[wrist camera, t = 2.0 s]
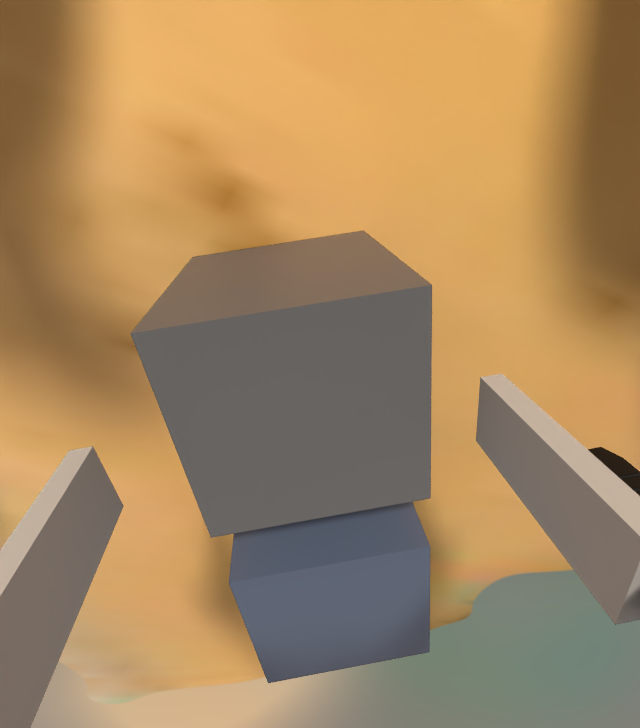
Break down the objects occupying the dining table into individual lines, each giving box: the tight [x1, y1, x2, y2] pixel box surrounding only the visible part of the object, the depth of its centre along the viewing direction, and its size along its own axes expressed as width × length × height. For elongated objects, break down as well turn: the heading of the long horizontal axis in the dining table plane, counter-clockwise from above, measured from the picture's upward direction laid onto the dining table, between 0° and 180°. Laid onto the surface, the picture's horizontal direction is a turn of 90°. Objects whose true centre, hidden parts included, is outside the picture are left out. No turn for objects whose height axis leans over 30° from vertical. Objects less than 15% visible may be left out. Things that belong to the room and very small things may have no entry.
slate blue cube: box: [229, 502, 430, 683], centre depth 24 cm, size 9×9×10 cm
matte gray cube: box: [131, 231, 432, 537], centre depth 18 cm, size 9×9×10 cm
